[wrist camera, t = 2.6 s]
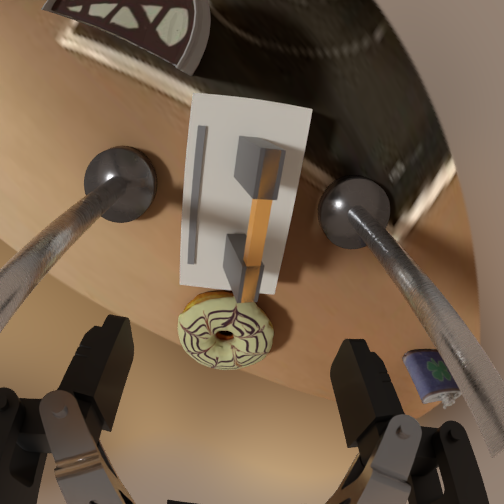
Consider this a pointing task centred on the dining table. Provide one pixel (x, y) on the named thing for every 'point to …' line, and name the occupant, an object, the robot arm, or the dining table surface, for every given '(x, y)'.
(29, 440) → the robot arm
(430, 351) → the flask
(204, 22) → the food container
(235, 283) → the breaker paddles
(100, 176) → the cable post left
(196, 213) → the switch panel
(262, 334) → the decorated donut
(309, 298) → the dining table surface
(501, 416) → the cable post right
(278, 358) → the dining table surface
